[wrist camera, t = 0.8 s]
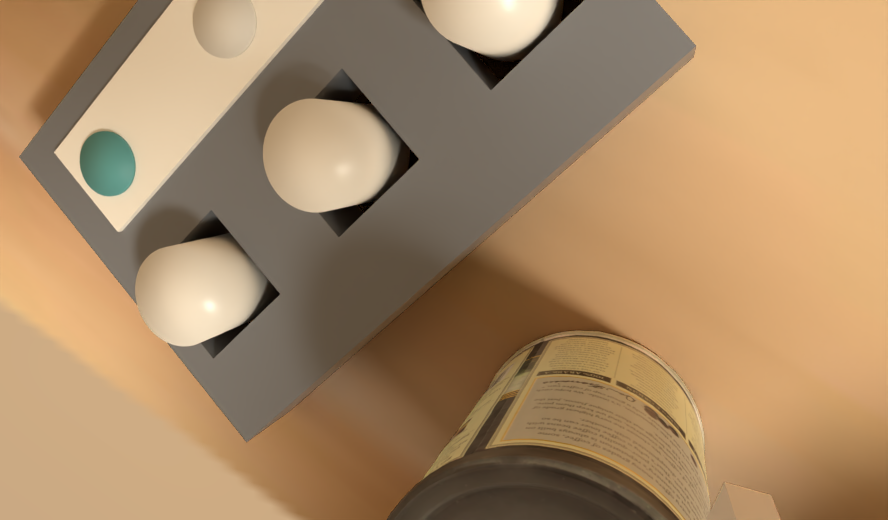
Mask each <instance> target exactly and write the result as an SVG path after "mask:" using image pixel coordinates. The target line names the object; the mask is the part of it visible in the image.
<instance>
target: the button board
mask: <svg viewBox="0 0 888 520" xmlns="http://www.w3.org/2000/svg"><path fill="white" fill-rule="evenodd" d="M695 49H696V45H695V44H694V43H693V42H692V41H691V40H690V38H689V37H688V36H687V35H686V34H685V33H684V32H683V31H682V30H681V28H680V27H679V26H678V25H677V24H676V23H675V22H674V21H673V20H672V18H671V17H670V16H669V15H668V14H667V13H666V12H665V11H664V10H663V8H662V7H661V6H660V5H659V4H658V3H657V2H656V1H655V0H584V1H583V2H582V3H581V4H580V5H579V6H578V7H577V8H576V9H575V10H574V11H572V12H571V13H570V14H569V15H568V16H567V17H566V18H565V19H564V20H563V21H562V22H561V23H560V24H559V25H558V26H557V27H556V28H555V29H554V30H553V31H552V32H551V33H550V34H549V35H548V36H547V37H546V38H545V39H544V40H542V41H541V42H540V43H539V44H538V45H537V46H536V47H535V48H534V49H533V50H532V51H531V52H530V53H529V54H528V55H527V56H526V57H525V58H524V59H523V60H522V61H521V62H520V63H519V64H518V65H517V66H516V67H515V68H514V69H513V70H511V71H510V72H509V73H508V74H507V75H506V76H505V77H504V78H503V79H502V80H501V81H499V80H498V79H497V78H496V76H495V75H494V74H493V73H492V72H491V71H490V70H489V68H488V67H487V66H486V65H485V64H484V63H483V61H482V60H481V59H480V58H479V57H478V56H477V55H476V53H475V52H474V51H472V50H470V49H468V48H465V47H463V46H461V45H458V44H456V43H453V42H452V41H450V40H448V39H446V38H445V37H444V36H442V35H441V34H440V33H439V32H438V31H437V30H436V29H435V28H434V26H433V25H432V24H431V22H430V21H429V19H428V17H427V15H426V13H425V11H424V8H423V5H422V1H421V0H138V1H137V3H136V4H135V5H134V6H133V8H132V9H131V10H130V12H129V13H128V14H127V16H126V17H125V18H124V20H123V21H122V22H121V24H120V25H119V26H118V28H117V29H116V30H115V31H114V33H113V34H112V35H111V37H110V38H109V39H108V41H107V42H106V43H105V45H104V46H103V47H102V49H101V50H100V51H99V52H98V54H97V55H96V56H95V58H94V59H93V60H92V62H91V63H90V64H89V66H88V67H87V68H86V70H85V71H84V72H83V74H82V75H81V76H80V77H79V79H78V80H77V81H76V83H75V84H74V85H73V87H72V88H71V89H70V91H69V92H68V93H67V95H66V96H65V97H64V99H63V100H62V101H61V102H60V104H59V105H58V106H57V108H56V109H55V110H54V112H53V113H52V114H51V116H50V117H49V118H48V120H47V121H46V122H45V123H44V125H43V126H42V127H41V129H40V130H39V131H38V133H37V134H36V135H35V137H34V138H33V139H32V141H31V142H30V143H29V145H28V146H27V147H26V148H25V150H24V151H23V152H22V154H21V155H20V156H19V157H20V159H21V160H22V161H23V162H24V164H25V165H26V166H27V167H28V169H29V170H30V171H31V172H32V174H33V175H34V176H35V177H36V179H37V180H38V181H39V182H40V184H41V185H42V186H43V187H44V189H45V190H46V191H47V192H48V194H49V195H50V196H51V198H52V199H53V200H54V201H55V203H56V204H57V205H58V206H59V208H60V209H61V210H62V211H63V213H64V214H65V215H66V216H67V218H68V219H69V220H70V221H71V223H72V224H73V225H74V226H75V228H76V229H77V230H78V231H79V233H80V234H81V235H82V236H83V238H84V239H85V240H86V241H87V243H88V244H89V245H90V246H91V248H92V249H93V250H94V251H95V253H96V254H97V255H98V256H99V258H100V259H101V260H102V261H103V263H104V264H105V265H106V267H107V268H108V269H109V270H110V272H111V273H112V274H113V275H114V277H115V278H116V279H117V280H118V282H119V283H120V284H121V285H122V287H123V288H124V289H125V290H126V292H127V293H128V294H129V295H130V297H131V298H132V299H133V300H134V302H135V303H136V304H137V302H136V296H135V283H136V277H137V274H138V271H139V268H140V266H141V265H142V263H143V262H144V260H145V259H146V258H147V257H148V256H149V255H150V254H151V253H153V252H154V251H156V250H158V249H161V248H164V247H168V246H173V245H177V244H182V243H186V242H191V241H195V240H200V239H205V238H209V237H214V236H218V235H223V234H227V233H231V234H232V236H233V237H234V238H235V239H236V241H237V242H238V243H239V244H240V245H241V247H242V248H243V249H244V250H245V252H246V253H247V254H248V255H249V257H250V258H251V259H252V260H253V261H254V263H255V264H256V265H257V266H258V268H259V269H260V270H261V271H262V272H263V274H264V275H265V276H266V277H267V279H268V280H269V281H270V282H271V283H272V285H273V286H274V287H275V288H276V290H277V291H278V292H279V293H280V295H279V296H278V297H277V298H276V299H275V300H274V301H273V302H272V303H271V304H269V305H268V306H267V307H266V308H265V309H264V310H263V311H262V312H261V313H260V314H259V315H258V316H257V317H256V318H255V319H254V320H253V321H252V322H251V323H250V324H248V322H247V323H244V324H242V325H240V326H238V327H235V328H233V329H231V330H228V331H226V332H224V333H222V334H219V335H217V336H215V337H212V338H210V339H208V340H206V341H203V342H201V343H199V344H196V345H193V346H185V347H184V346H176V345H172V344H170V343H168V344H169V346H170V347H171V348H172V349H173V351H174V352H175V353H176V354H177V356H178V357H179V358H180V359H181V361H182V362H183V363H184V364H185V366H186V367H187V368H188V369H189V371H190V372H191V373H192V374H193V376H194V377H195V378H196V379H197V381H198V382H199V383H200V384H201V386H202V387H203V388H204V389H205V391H206V392H207V393H208V395H209V396H210V397H211V398H212V400H213V401H214V402H215V403H216V405H217V406H218V407H219V408H220V410H221V411H222V412H223V413H224V415H225V416H226V417H227V418H228V420H229V421H230V422H231V423H232V425H233V426H234V427H235V428H236V430H237V431H238V432H239V433H240V435H241V436H242V437H243V438H244V440H245V441H246V442H248V441H249V440H250V439H252V438H253V437H255V436H256V435H257V434H259V433H260V432H262V431H263V430H264V429H266V428H267V427H268V426H270V425H271V424H273V423H274V422H275V421H277V420H278V419H280V418H281V417H282V416H284V415H285V414H287V413H288V412H289V411H290V410H292V409H293V408H294V407H295V406H296V405H297V404H298V403H300V402H301V401H302V400H303V399H304V398H305V397H306V396H307V395H309V394H310V393H311V392H312V391H313V390H314V389H315V388H317V387H318V386H319V385H320V384H321V383H322V382H323V381H325V380H326V379H327V378H328V377H329V376H330V375H331V374H333V373H334V372H335V371H336V370H337V369H338V368H339V367H341V366H342V365H343V364H344V363H345V362H346V361H347V360H349V359H350V358H351V357H352V356H353V355H354V354H355V353H357V352H358V351H359V350H360V349H361V348H362V347H363V346H365V345H366V344H367V343H368V342H369V341H370V340H371V339H373V338H374V337H375V336H376V335H377V334H378V333H379V332H381V331H382V330H383V329H384V328H385V327H386V326H387V325H389V324H390V323H391V322H392V321H393V320H394V319H395V318H397V317H398V316H399V315H400V314H401V313H402V312H403V311H404V310H406V309H407V308H408V307H409V306H410V305H411V304H412V303H414V302H415V301H416V300H417V299H418V298H419V297H420V296H422V295H423V294H424V293H425V292H426V291H427V290H428V289H430V288H431V287H432V286H433V285H434V284H435V283H436V282H438V281H439V280H440V279H441V278H442V277H443V276H444V275H446V274H447V273H448V272H449V271H450V270H451V269H452V268H454V267H455V266H456V265H457V264H458V263H459V262H460V261H462V260H463V259H464V258H465V257H466V256H467V255H468V254H470V253H471V252H472V251H473V250H474V249H475V248H476V247H478V246H479V245H480V244H481V243H482V242H483V241H484V240H486V239H487V238H488V237H489V236H490V235H491V234H492V233H494V232H495V231H496V230H497V229H498V228H499V227H500V226H502V225H503V224H504V223H505V222H506V221H507V220H508V219H509V218H511V217H512V216H513V215H514V214H515V213H516V212H517V211H519V210H520V209H521V208H522V207H523V206H524V205H525V204H527V203H528V202H529V201H530V200H531V199H532V198H533V197H535V196H536V195H537V194H538V193H539V192H540V191H541V190H543V189H544V188H545V187H546V186H547V185H548V184H549V183H551V182H552V181H553V180H554V179H555V178H556V177H557V176H559V175H560V174H561V173H562V172H563V171H564V170H565V169H567V168H568V167H569V166H570V165H571V164H572V163H573V162H575V161H576V160H577V159H578V158H579V157H580V156H581V155H583V154H584V153H585V152H586V151H587V150H588V149H589V148H591V147H592V146H593V145H594V144H595V143H596V142H597V141H599V140H600V139H601V138H602V137H603V136H604V135H605V134H606V133H608V132H609V131H610V130H611V129H612V128H613V127H614V126H616V125H617V124H618V123H619V122H620V121H621V120H622V119H624V118H625V117H626V116H627V115H628V114H629V113H630V112H632V111H633V110H634V109H635V108H636V107H637V106H638V105H640V104H641V103H642V102H643V101H644V100H645V99H646V98H648V97H649V96H650V95H651V94H652V93H653V92H654V91H656V90H657V89H658V88H659V87H660V86H661V85H662V84H664V83H665V82H666V81H667V80H668V79H669V78H670V77H672V76H673V75H674V74H675V73H676V72H677V71H678V70H680V69H681V68H682V67H683V66H684V65H685V64H686V63H688V62H689V61H690V60H691V59H692V58H693V57H694V53H695ZM362 93H363V94H364V95H365V96H366V97H367V98H368V100H369V101H370V102H371V103H372V104H373V105H374V107H375V108H376V109H377V110H378V111H379V112H380V114H381V115H382V116H383V117H384V118H385V120H386V121H387V122H388V123H389V124H390V125H391V127H392V128H393V129H394V130H395V131H396V132H397V134H398V135H399V136H400V137H401V138H402V140H403V141H404V142H405V143H406V144H407V145H408V147H409V148H410V149H411V150H412V151H413V152H414V154H415V155H416V156H417V157H418V158H419V160H418V161H417V162H416V163H415V164H414V165H413V166H412V167H411V168H410V169H409V170H408V171H407V172H406V173H405V174H404V175H403V176H402V177H401V178H400V179H399V180H398V181H397V182H396V183H395V184H394V185H393V186H392V187H390V188H389V189H388V190H387V191H386V192H385V193H384V194H383V195H382V196H381V197H380V198H379V199H378V200H377V201H376V202H375V203H374V204H373V205H372V206H371V207H370V208H369V209H368V210H367V211H366V212H365V213H363V212H362V211H361V209H360V208H359V207H358V206H357V205H353V206H349V207H344V208H340V209H335V210H330V211H326V212H319V213H316V212H306V211H302V210H299V209H297V208H295V207H293V206H291V205H290V204H288V203H287V202H285V201H284V200H283V199H282V198H281V197H280V196H279V195H278V194H277V193H276V191H275V190H274V189H273V187H272V185H271V184H270V182H269V179H268V177H267V175H266V171H265V168H264V162H263V144H264V139H265V135H266V132H267V130H268V127H269V125H270V123H271V122H272V120H273V119H274V117H275V116H276V115H277V114H278V113H279V112H280V111H281V110H282V109H283V108H285V107H286V106H287V105H289V104H291V103H293V102H296V101H299V100H303V99H323V100H333V101H343V102H353V103H354V102H355V100H356V99H357V98H358V97H359V96H360V95H361V94H362Z"/></svg>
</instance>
